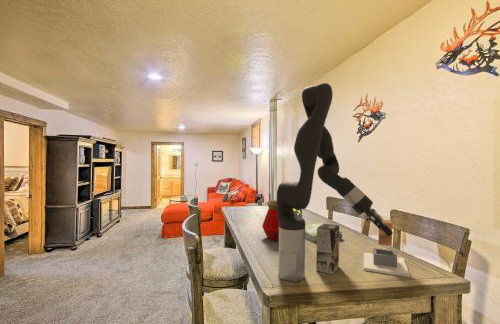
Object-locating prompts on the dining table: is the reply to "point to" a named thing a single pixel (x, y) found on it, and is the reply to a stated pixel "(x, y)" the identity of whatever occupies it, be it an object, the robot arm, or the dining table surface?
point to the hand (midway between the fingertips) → (390, 232)
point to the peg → (382, 236)
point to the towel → (314, 232)
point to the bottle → (271, 222)
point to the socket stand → (385, 262)
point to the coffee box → (327, 248)
